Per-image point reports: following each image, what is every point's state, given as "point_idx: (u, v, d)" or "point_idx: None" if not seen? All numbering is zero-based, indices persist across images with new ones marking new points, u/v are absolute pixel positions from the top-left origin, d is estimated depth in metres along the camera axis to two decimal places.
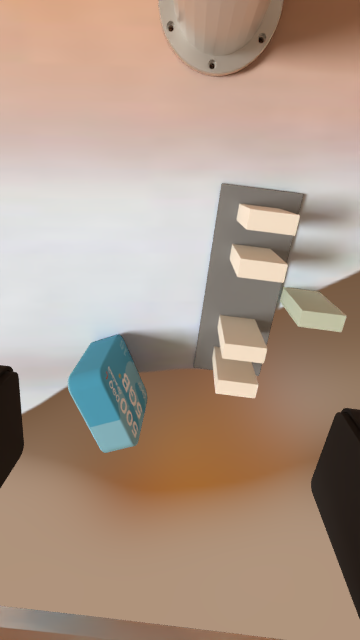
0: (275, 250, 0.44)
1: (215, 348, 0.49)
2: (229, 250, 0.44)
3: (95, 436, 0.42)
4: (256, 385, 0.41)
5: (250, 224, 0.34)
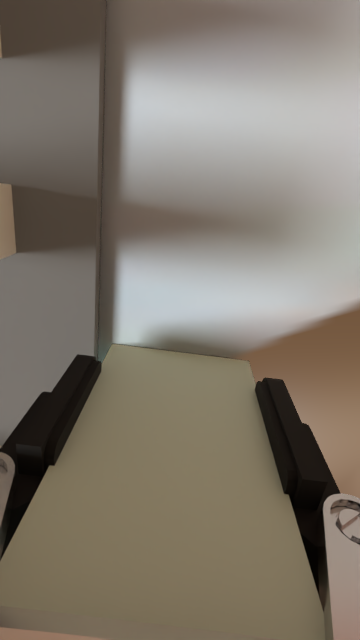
0: (36, 192, 0.10)
1: None
2: None
3: None
4: None
5: None
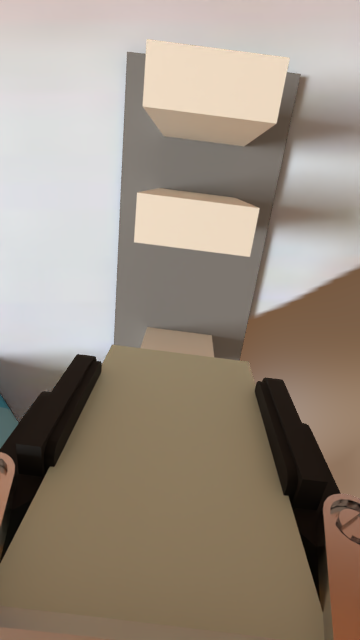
0: (245, 201, 0.22)
1: None
2: None
3: None
4: None
5: (151, 91, 0.12)
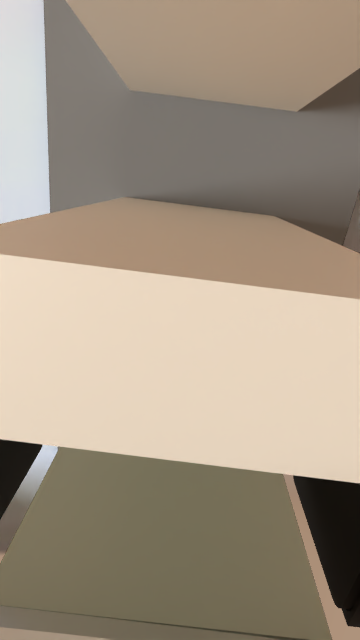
0: (294, 222, 0.11)
1: None
2: None
3: None
4: None
5: None
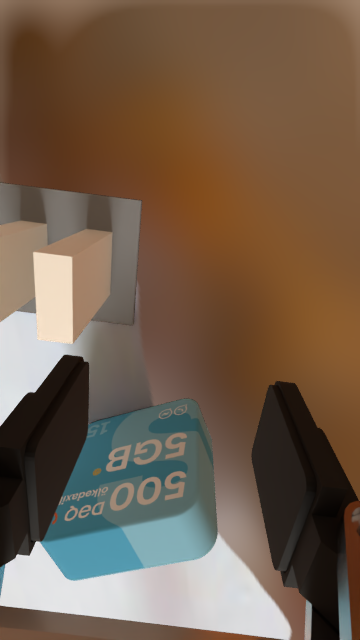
0: None
1: None
2: None
3: (164, 563, 0.22)
4: (35, 256, 0.17)
5: None
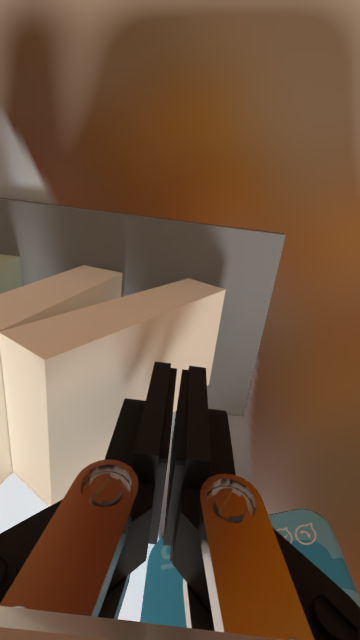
0: None
1: None
2: None
3: None
4: (2, 341, 0.09)
5: None
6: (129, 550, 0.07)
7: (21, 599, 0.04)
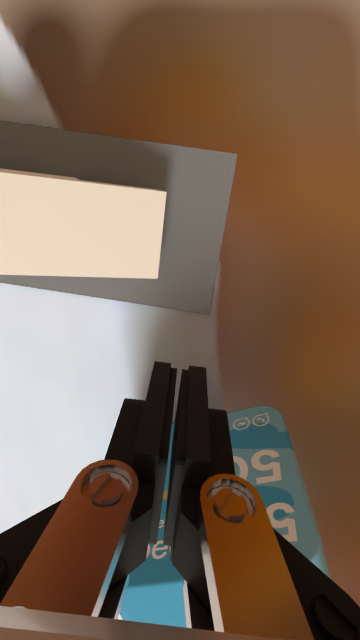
0: None
1: None
2: None
3: None
4: None
5: None
6: (129, 550, 0.07)
7: (21, 599, 0.04)
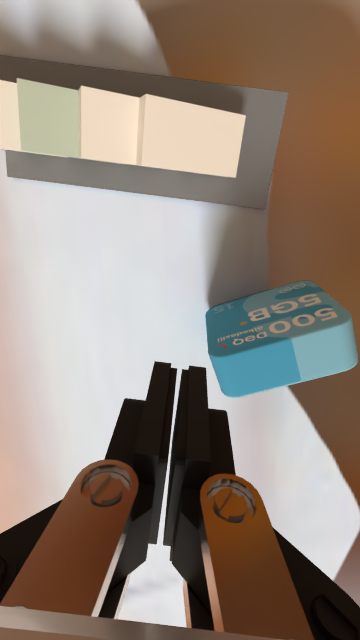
0: (78, 89, 0.30)
1: None
2: (85, 161, 0.33)
3: (319, 375, 0.28)
4: (139, 101, 0.27)
5: None
6: (129, 550, 0.07)
7: (21, 599, 0.04)
